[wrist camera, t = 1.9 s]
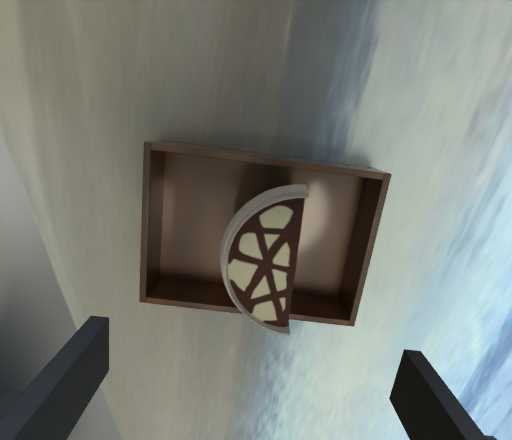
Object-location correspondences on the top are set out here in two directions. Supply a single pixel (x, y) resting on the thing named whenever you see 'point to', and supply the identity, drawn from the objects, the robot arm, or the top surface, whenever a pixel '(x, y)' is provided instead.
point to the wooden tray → (230, 202)
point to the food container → (264, 255)
